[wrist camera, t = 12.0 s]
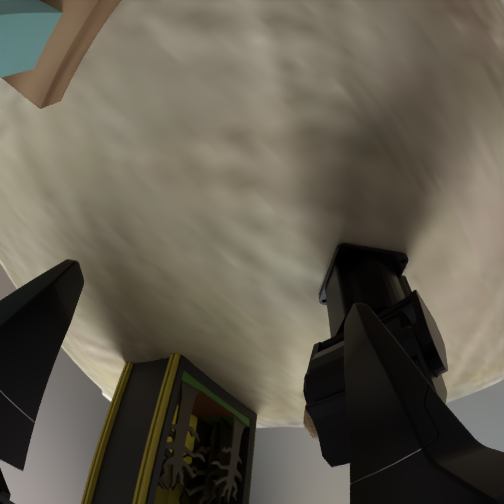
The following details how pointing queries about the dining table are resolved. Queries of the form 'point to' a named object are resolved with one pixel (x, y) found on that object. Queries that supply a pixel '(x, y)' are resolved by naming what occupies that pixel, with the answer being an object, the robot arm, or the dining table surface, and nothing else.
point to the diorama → (172, 440)
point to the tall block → (24, 33)
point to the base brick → (62, 50)
